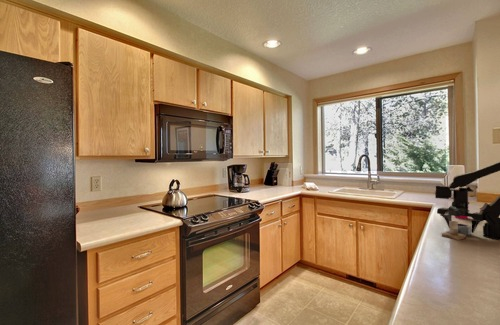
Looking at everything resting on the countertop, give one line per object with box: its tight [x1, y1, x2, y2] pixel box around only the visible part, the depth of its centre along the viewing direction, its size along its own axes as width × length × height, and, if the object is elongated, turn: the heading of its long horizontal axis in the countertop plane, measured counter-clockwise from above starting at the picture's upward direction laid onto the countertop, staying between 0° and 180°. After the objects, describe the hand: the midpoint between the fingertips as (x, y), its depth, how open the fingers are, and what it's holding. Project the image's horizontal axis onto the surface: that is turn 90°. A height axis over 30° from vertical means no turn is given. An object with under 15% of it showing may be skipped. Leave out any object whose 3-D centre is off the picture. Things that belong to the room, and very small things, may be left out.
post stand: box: [441, 220, 467, 241], centre depth 117 cm, size 7×7×7 cm
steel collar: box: [458, 222, 472, 236], centre depth 123 cm, size 7×7×4 cm
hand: (460, 230), depth 123 cm, fingers open, 9 cm apart
